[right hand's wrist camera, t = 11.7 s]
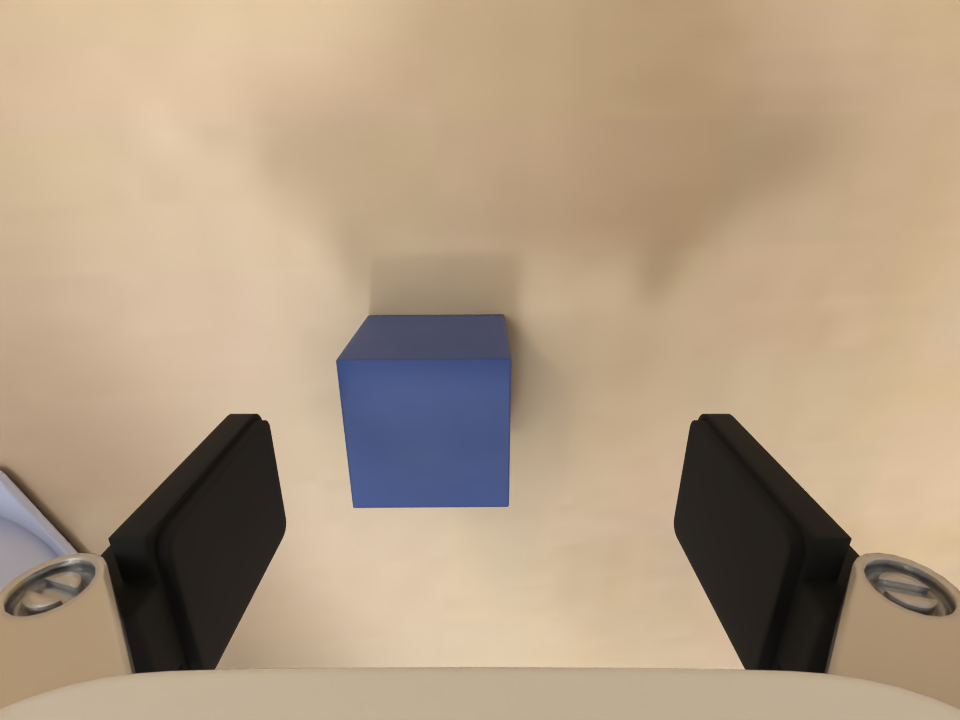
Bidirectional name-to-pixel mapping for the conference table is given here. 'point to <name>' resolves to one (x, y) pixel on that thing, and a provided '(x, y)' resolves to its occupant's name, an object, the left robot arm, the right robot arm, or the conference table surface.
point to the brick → (427, 411)
